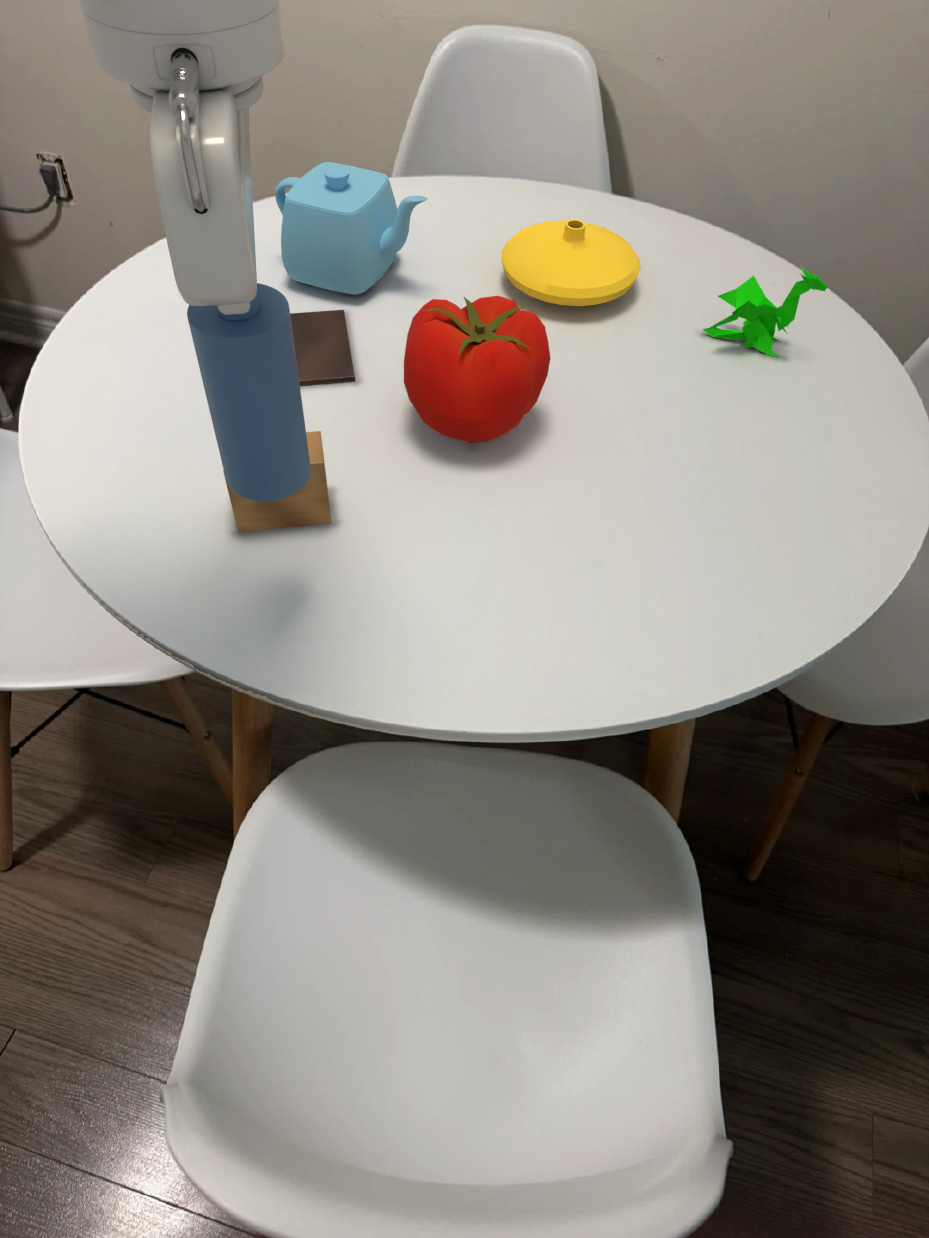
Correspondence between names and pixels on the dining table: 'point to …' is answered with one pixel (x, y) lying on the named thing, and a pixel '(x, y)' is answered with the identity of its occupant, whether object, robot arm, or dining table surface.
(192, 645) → the dining table surface
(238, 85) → the robot arm
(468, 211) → the dining table surface
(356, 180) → the teapot
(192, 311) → the bottle
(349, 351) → the coaster
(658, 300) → the dining table surface
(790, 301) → the figurine
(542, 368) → the tomato
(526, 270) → the vase
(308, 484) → the prop block
